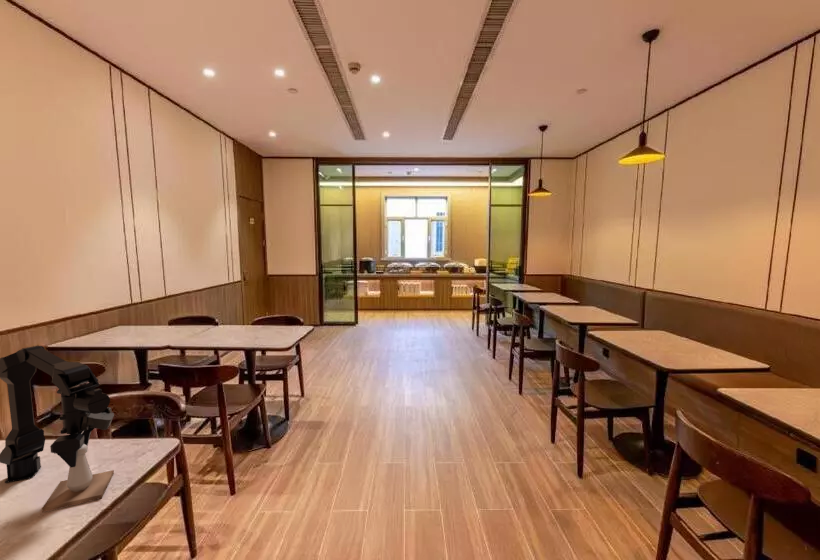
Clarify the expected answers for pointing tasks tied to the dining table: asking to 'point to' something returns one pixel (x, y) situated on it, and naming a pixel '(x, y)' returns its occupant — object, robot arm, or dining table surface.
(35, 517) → the dining table surface
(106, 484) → the walnut board
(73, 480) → the salt shaker
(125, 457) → the dining table surface
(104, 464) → the dining table surface
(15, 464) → the robot arm
